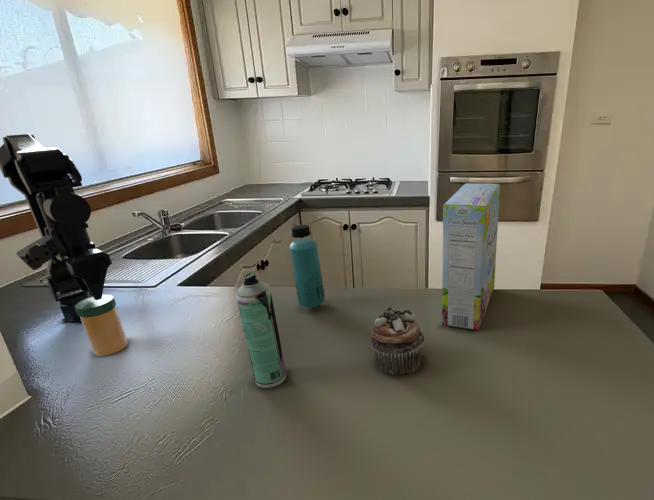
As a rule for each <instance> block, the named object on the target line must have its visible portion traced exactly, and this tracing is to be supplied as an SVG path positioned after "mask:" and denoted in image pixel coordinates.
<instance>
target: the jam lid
mask: <svg viewBox="0 0 654 500" xmlns="http://www.w3.org/2000/svg"><path fill="white" fill-rule="evenodd" d="M116 303H117V302H116V300H115V297H114V296H113V295H112V294H102V298H101V299H99V300H95V299H94V298H93V297H90V298H87V299H85V300H82V301H80V302H79V303H77V304H76V305H75V310H76V313H77V315H78V316H80V317H90V316H95V315H99V314H102V313H105V312H107V311H109V310H111V309H113V308H114V307H115V306H117V304H116Z"/></svg>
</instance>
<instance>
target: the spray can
mask: <svg viewBox="0 0 654 500" xmlns="http://www.w3.org/2000/svg"><path fill="white" fill-rule="evenodd" d="M235 294H236V295H235V297H236V301H237V306H238V310H239V311H238V312H239V315H240V321H241V324H242V329H243V333H244V338H245V342H246V346H247V350H248V351H247V352H248V356H249V360H250V365H251V369H252V373H253V377H254V382H255V384H256V386H257V387H259V388H262V389H271V388H275V387H277V386H280V385H281V384H282V383H284V381H286V379H287V370H286V365H285V359H284V353H283V349H282V343H281V338H280V333H279V328H278V321H277V317H276V311H275V306H274V300H273V295H272V291H271V288H270V285H269V283H267V282H262V281H261V279H259V278H257V275H256V274H255V272H250V273H247V274H245V276H244V280H243V282H242V285H241V286H240V287H238V288H237V289H236V291H235Z"/></svg>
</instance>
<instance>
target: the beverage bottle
mask: <svg viewBox="0 0 654 500" xmlns="http://www.w3.org/2000/svg"><path fill="white" fill-rule="evenodd" d="M309 236H311V229H310V226H309V224H304V223H303V224H296V225H293V226H292V227H291V237H292V238H294V240H293V241H292V242H291V244H290V245H289V247H288V249H289V252H290V258H291V265H292V271H293V279H294V285H295V291H296V293H295V294H296V297H297V301H298V304H299V305H300V306H301V307H305V308H312V307H317V306H319V305H322V304H323V303H324V302H325V299H326V296H325V295H326V294H325V289H324V283H323V275H322V270H321V263H320V256H319V249H318V243H317V242H316V240H314V239H312V238H309Z"/></svg>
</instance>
